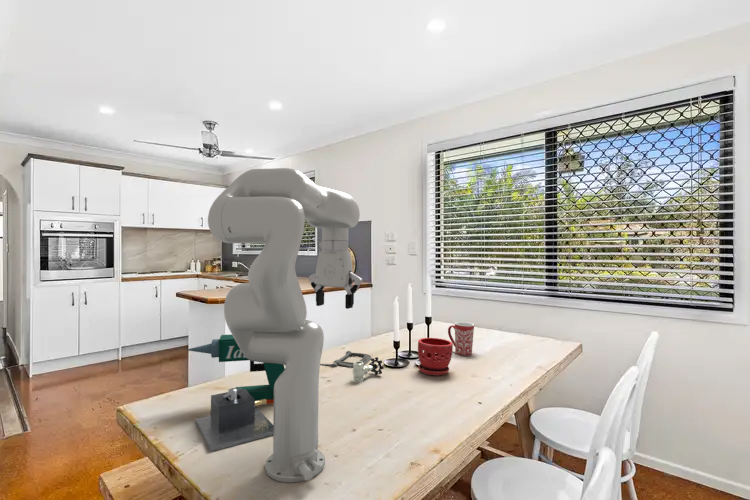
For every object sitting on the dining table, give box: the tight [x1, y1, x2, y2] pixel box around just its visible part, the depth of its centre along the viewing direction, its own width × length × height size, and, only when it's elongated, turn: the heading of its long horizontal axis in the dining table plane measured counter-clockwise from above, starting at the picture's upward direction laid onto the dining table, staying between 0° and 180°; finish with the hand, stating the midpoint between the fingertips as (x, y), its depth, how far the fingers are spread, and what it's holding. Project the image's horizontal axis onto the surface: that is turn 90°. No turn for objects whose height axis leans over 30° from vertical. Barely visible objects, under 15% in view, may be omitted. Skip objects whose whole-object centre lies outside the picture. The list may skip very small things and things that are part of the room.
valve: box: [352, 356, 385, 383], centre depth 142 cm, size 7×7×12 cm
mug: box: [447, 321, 475, 356], centre depth 178 cm, size 13×9×14 cm
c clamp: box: [320, 350, 372, 369], centre depth 163 cm, size 20×17×3 cm
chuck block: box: [195, 389, 273, 453], centre depth 102 cm, size 18×17×7 cm
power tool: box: [186, 334, 286, 405], centre depth 118 cm, size 32×7×20 cm, turn 105°
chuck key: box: [223, 387, 242, 401], centre depth 104 cm, size 6×2×8 cm, turn 154°
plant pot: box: [417, 337, 454, 376], centre depth 150 cm, size 13×13×12 cm
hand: (334, 306), depth 112 cm, fingers open, 9 cm apart
